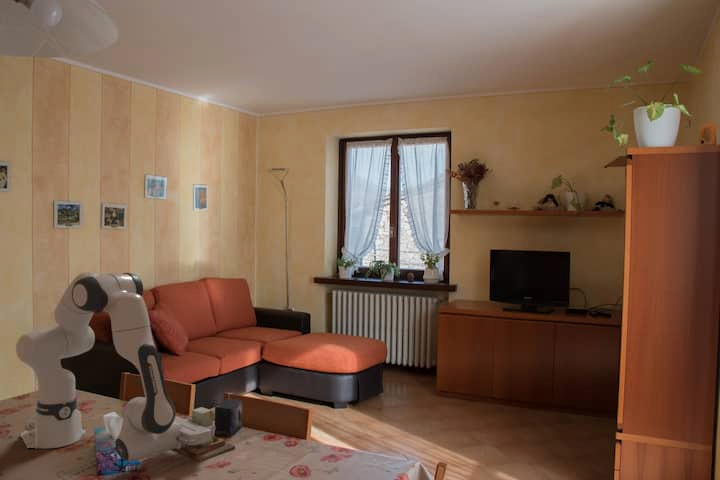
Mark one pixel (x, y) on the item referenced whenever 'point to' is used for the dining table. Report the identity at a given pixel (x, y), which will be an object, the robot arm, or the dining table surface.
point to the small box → (228, 417)
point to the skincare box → (203, 421)
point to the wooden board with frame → (205, 449)
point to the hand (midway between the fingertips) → (205, 423)
